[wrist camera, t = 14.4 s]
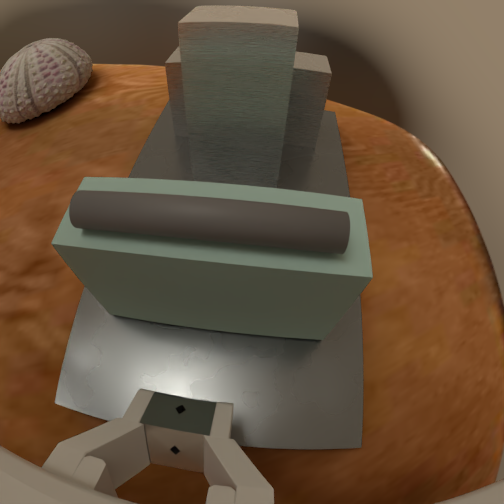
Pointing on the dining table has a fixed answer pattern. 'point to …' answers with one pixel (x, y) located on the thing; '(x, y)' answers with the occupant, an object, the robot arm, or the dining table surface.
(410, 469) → the dining table surface
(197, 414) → the robot arm
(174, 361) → the vise
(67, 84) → the sea urchin shell
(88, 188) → the sliding jaw
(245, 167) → the block
